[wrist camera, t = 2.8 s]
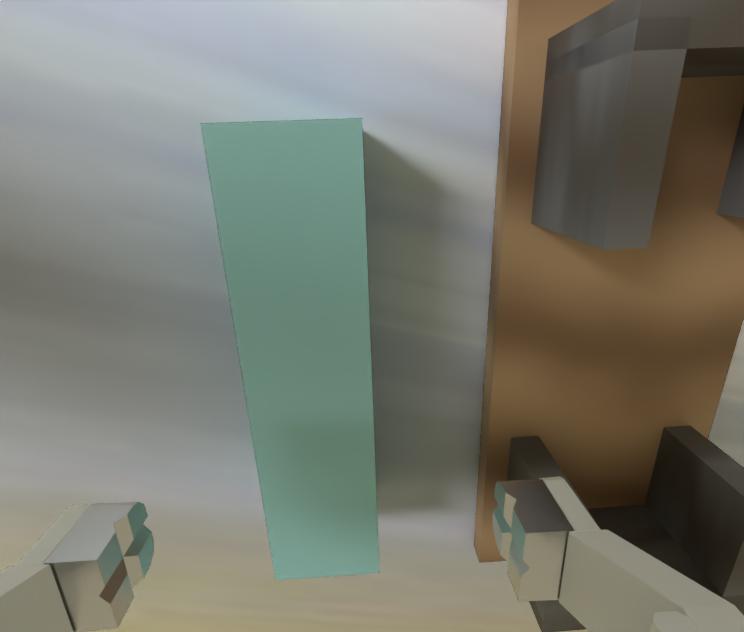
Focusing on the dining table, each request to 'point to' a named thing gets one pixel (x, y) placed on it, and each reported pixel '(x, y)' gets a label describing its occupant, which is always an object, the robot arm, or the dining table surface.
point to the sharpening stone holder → (619, 276)
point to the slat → (302, 332)
